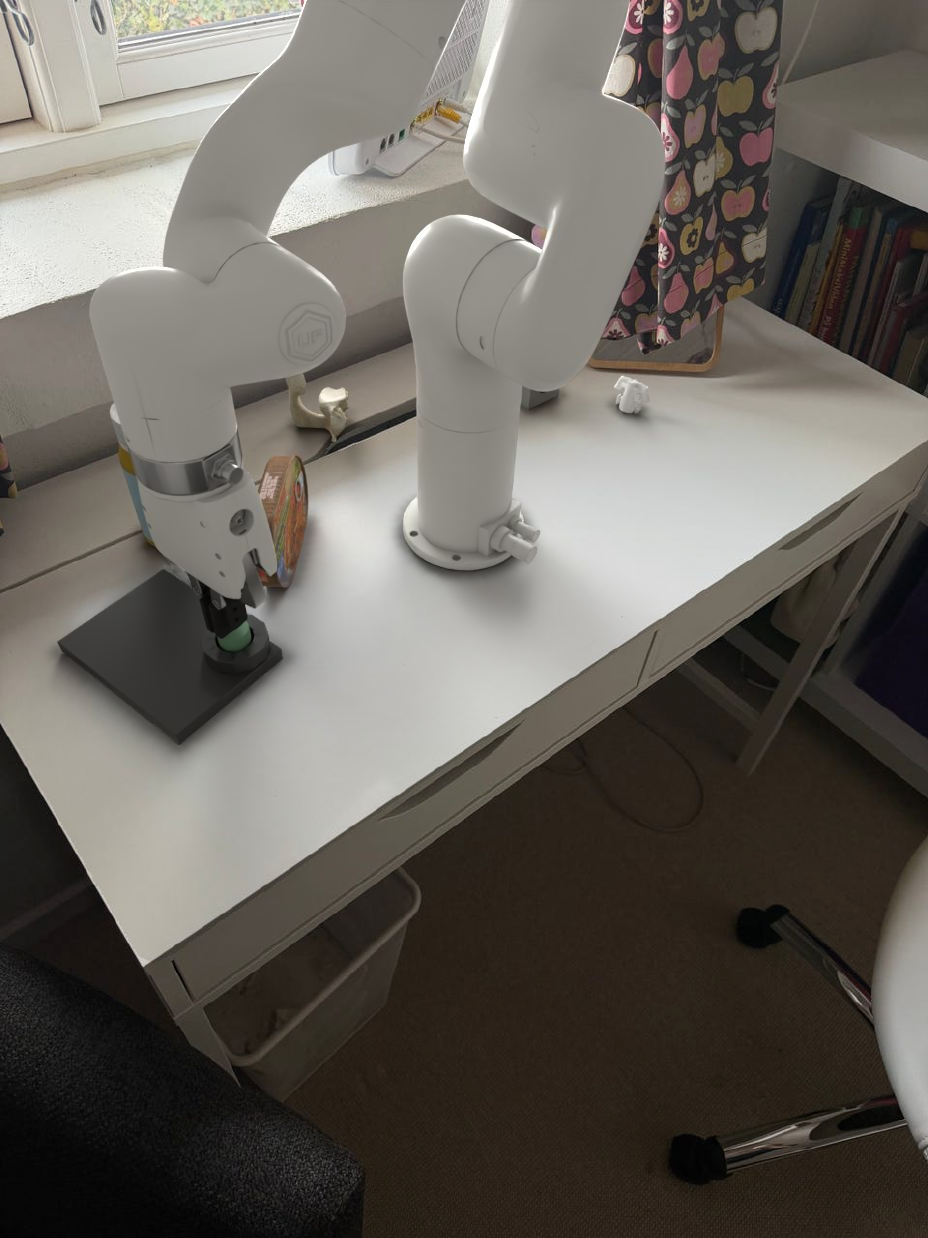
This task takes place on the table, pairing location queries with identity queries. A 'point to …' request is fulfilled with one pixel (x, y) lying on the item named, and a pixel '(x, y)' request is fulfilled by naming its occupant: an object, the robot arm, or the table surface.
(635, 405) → the clip
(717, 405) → the table surface
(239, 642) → the button
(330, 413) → the bone
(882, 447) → the table surface
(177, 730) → the scale
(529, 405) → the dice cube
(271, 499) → the tin
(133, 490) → the bottle
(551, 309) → the robot arm
